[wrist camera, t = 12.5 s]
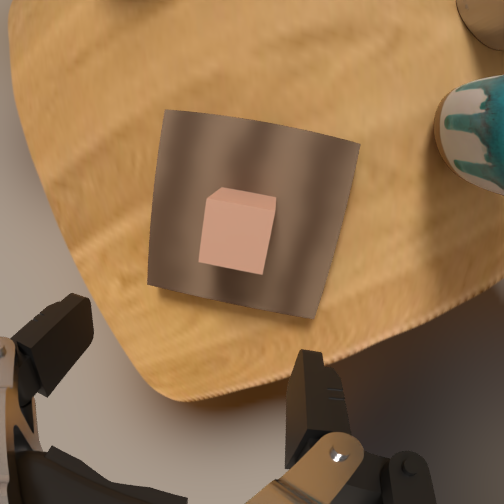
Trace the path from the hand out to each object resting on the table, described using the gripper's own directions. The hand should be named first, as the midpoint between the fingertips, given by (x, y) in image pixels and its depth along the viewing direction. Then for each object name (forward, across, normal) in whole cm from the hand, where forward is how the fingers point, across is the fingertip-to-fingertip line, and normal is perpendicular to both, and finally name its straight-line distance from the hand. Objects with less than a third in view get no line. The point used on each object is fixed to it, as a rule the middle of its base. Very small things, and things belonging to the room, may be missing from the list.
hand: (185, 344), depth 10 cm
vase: (+22, -21, -14) cm, 34 cm away
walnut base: (+22, 0, 0) cm, 22 cm away
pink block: (+19, 0, 0) cm, 19 cm away
